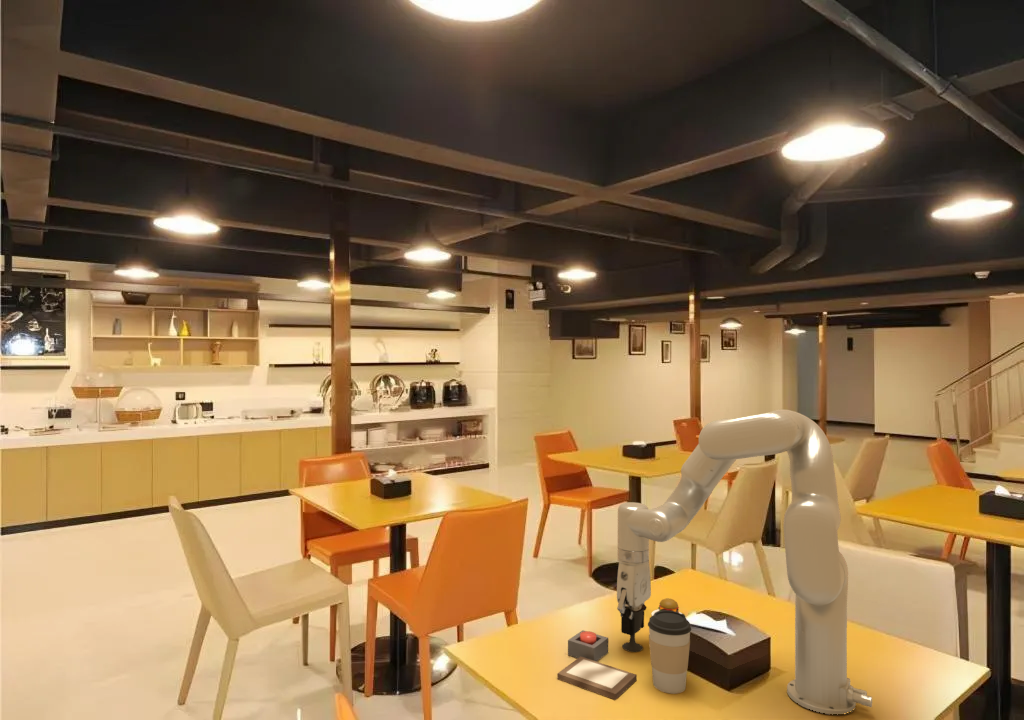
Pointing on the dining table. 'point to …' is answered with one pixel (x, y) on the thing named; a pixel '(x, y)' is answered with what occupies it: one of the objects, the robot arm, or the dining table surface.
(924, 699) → the dining table surface
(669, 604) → the hamburger
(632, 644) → the sundae
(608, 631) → the dining table surface
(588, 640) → the button
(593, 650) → the button base
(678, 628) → the coffee cup
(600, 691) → the drawing board
